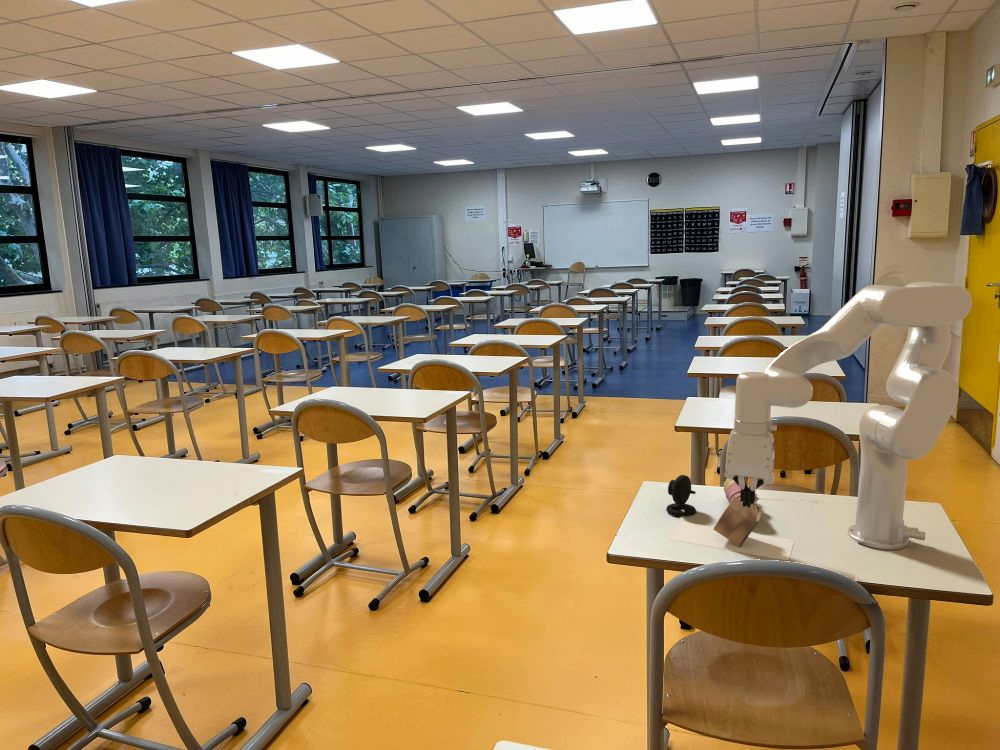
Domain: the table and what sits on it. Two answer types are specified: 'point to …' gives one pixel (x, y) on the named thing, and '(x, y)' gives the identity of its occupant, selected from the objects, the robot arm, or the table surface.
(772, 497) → the table surface
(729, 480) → the scroll
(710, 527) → the mat
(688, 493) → the webcam
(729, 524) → the block
